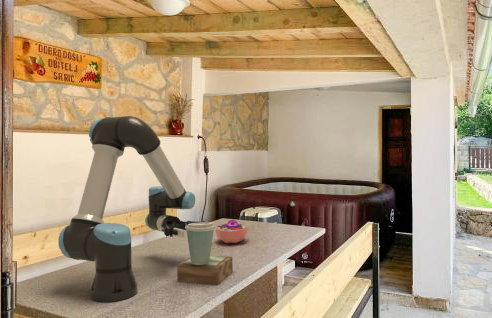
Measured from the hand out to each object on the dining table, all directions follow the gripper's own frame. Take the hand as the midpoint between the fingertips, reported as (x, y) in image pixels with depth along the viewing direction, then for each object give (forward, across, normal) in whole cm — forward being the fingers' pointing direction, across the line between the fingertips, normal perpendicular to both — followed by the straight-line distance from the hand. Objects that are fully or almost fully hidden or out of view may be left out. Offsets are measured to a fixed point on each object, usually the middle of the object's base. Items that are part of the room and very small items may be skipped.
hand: (198, 231), depth 157 cm
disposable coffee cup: (+7, +4, -10) cm, 13 cm away
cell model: (-31, -43, -17) cm, 56 cm away
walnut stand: (+5, 0, -17) cm, 17 cm away
